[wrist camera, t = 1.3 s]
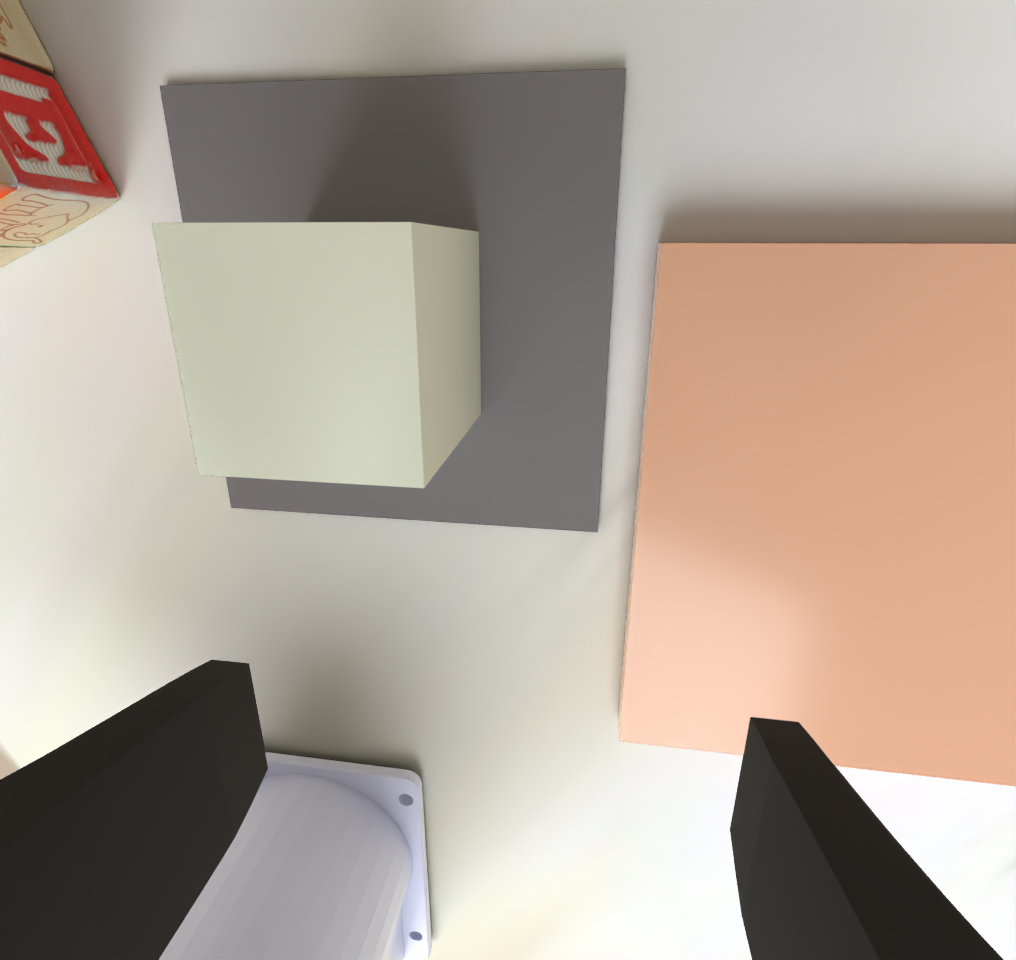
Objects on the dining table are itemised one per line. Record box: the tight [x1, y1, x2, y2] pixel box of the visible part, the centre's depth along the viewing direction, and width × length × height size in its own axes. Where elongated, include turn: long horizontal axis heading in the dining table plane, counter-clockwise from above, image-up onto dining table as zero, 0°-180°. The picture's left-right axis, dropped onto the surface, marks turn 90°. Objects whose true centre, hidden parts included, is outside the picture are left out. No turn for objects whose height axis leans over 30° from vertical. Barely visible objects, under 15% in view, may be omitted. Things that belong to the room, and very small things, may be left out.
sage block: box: [152, 222, 481, 488], centre depth 13 cm, size 4×4×6 cm
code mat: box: [160, 68, 626, 532], centre depth 16 cm, size 11×11×1 cm
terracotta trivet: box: [618, 243, 1016, 786], centre depth 16 cm, size 14×11×1 cm
